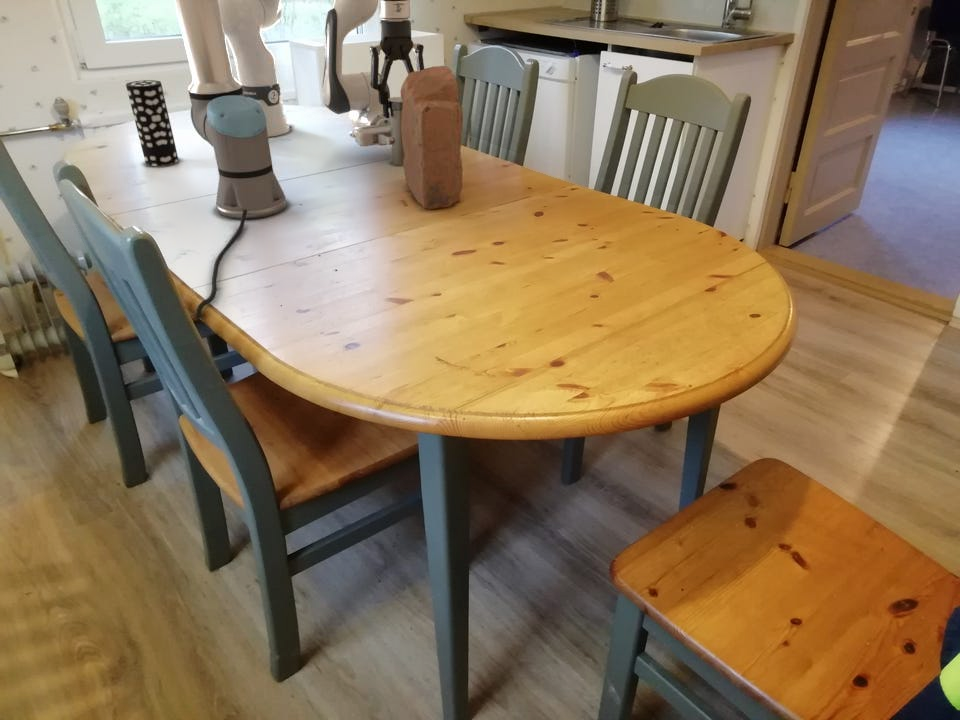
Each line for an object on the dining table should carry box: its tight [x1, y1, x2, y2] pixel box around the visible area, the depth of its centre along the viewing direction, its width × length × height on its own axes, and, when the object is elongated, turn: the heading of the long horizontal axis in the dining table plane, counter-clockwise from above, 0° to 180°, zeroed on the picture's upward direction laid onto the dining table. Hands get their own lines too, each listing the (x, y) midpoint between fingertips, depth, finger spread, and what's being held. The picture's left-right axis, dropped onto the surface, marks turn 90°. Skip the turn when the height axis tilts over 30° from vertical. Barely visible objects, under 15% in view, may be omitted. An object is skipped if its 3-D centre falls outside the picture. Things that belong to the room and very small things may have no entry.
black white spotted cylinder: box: [125, 79, 179, 167], centre depth 181 cm, size 8×8×20 cm
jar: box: [389, 108, 405, 167], centre depth 184 cm, size 5×5×16 cm
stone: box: [400, 65, 464, 210], centre depth 159 cm, size 22×11×28 cm, turn 18°
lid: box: [388, 96, 403, 110], centre depth 180 cm, size 6×6×2 cm
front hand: (400, 115), depth 182 cm, fingers open, 7 cm apart
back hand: (402, 139), depth 184 cm, fingers closed on jar, 5 cm apart
